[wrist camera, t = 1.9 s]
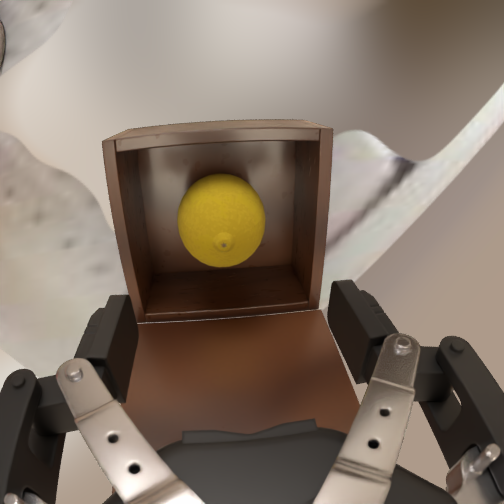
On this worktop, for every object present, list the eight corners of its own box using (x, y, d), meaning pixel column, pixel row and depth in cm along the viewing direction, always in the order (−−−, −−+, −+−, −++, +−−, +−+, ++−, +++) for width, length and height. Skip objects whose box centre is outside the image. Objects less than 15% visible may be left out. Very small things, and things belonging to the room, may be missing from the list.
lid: (110, 515, 10) (145, 532, 13) (390, 486, 11) (358, 510, 14) (133, 323, 21) (151, 373, 24) (321, 309, 22) (311, 360, 26)
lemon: (265, 174, 24) (291, 211, 17) (242, 240, 26) (257, 298, 19) (192, 154, 22) (185, 182, 15) (174, 223, 24) (162, 278, 17)
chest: (127, 129, 21) (101, 141, 16) (303, 119, 23) (333, 128, 17) (148, 277, 27) (136, 323, 22) (297, 266, 29) (318, 309, 23)
